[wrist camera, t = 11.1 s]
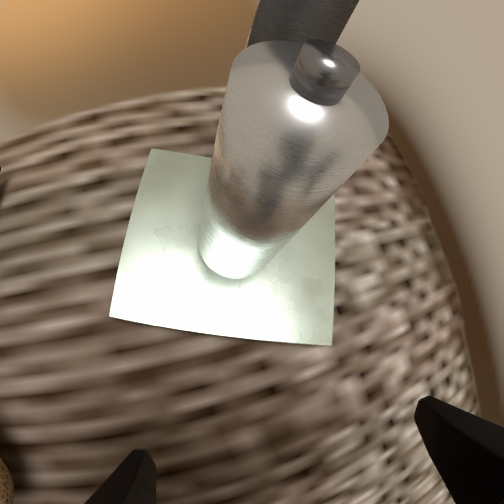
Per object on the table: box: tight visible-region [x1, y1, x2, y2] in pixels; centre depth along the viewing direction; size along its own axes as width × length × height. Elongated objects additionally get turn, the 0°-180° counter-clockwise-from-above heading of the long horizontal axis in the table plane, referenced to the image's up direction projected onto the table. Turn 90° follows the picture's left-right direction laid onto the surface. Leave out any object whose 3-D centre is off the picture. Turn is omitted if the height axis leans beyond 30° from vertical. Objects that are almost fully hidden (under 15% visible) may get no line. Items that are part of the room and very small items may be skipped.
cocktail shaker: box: [198, 39, 389, 279], centre depth 13 cm, size 5×5×14 cm
